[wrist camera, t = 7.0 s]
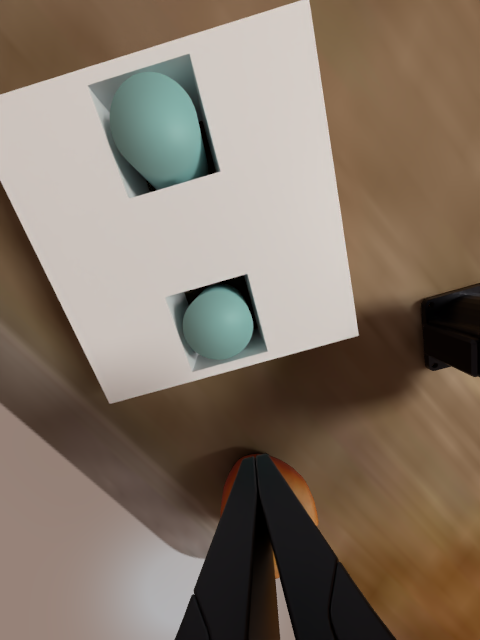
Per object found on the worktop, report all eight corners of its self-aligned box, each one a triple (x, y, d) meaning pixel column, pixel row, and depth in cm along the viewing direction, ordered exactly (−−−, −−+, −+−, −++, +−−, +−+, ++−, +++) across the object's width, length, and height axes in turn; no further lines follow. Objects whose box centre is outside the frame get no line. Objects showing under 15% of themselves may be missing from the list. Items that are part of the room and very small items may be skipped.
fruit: (193, 514, 22) (209, 588, 14) (230, 430, 24) (260, 455, 17) (264, 543, 23) (312, 624, 15) (292, 460, 26) (344, 496, 18)
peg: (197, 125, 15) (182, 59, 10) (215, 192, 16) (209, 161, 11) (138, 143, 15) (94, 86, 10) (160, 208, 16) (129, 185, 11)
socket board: (282, 84, 15) (308, -2, 10) (325, 316, 19) (358, 335, 14) (48, 155, 15) (-37, 105, 10) (139, 367, 19) (109, 404, 14)
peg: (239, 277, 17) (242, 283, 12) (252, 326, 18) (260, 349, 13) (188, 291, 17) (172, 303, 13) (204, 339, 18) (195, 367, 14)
